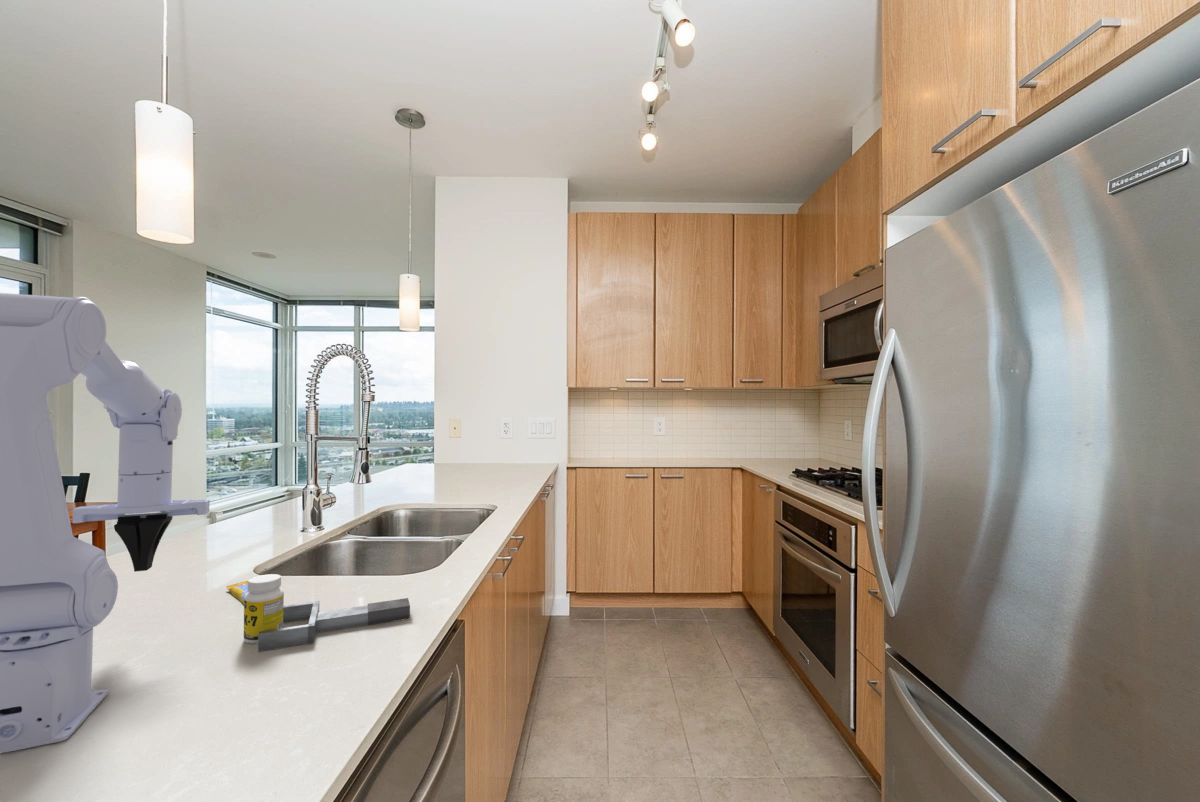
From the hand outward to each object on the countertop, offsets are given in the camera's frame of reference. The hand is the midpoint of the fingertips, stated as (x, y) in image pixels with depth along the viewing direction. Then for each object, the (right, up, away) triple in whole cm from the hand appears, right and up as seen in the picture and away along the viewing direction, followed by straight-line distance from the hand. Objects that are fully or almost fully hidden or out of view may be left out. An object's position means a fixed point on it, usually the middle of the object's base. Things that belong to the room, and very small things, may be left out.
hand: (143, 569), depth 72 cm
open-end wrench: (+25, -10, +5) cm, 28 cm away
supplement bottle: (+16, -10, +1) cm, 19 cm away
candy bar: (+5, -11, +15) cm, 20 cm away
